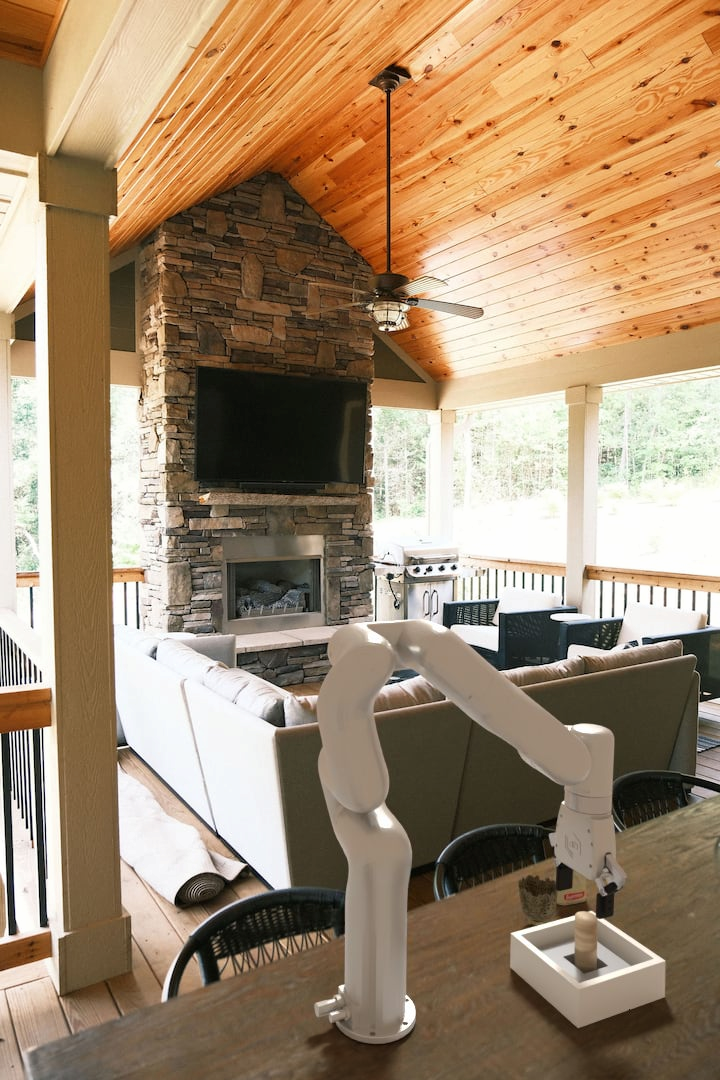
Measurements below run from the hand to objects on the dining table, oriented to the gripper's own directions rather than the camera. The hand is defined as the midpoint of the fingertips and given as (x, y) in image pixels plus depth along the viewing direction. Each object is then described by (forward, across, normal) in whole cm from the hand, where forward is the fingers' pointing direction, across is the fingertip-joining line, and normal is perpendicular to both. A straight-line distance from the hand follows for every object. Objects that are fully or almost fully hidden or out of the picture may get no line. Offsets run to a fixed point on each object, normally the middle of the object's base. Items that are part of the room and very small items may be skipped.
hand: (583, 902), depth 125 cm
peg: (+12, 0, +1) cm, 13 cm away
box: (+14, 0, +1) cm, 14 cm away
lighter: (+13, -22, +17) cm, 31 cm away
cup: (+14, -17, +5) cm, 23 cm away
